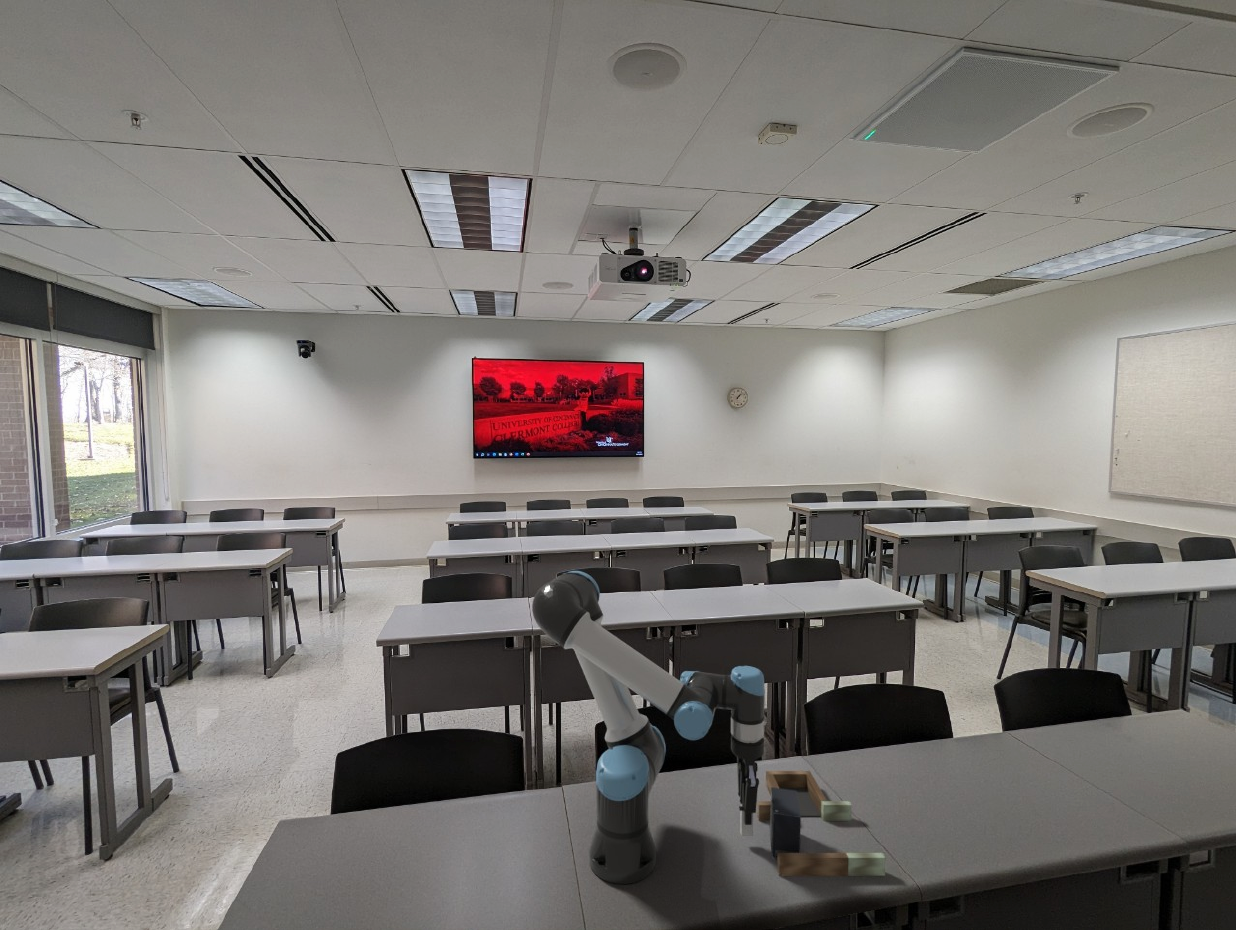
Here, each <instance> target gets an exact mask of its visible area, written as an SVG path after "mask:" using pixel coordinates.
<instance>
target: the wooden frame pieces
mask: <svg viewBox="0 0 1236 930" xmlns="http://www.w3.org/2000/svg"><path fill="white" fill-rule="evenodd" d="M818 784H819V783H818V782H817V780H816V779H815V777H814V775H813V774H812V772H811V771H810V770H766V771H765V787H766V788H767V789H766V790H767V791H768V794H769V796H770V797H771V787H773V788H779V787H806V788H807V790H808V792H809V794H810V796H811V798H812V800H813V801H814V803H815V805H816V807H817V809H818V811H819V812H820V814H821V819H822V821H823V822H824V821H827V822H828V821H831V822H832V821H836V822H837V821H839V822H840V821H844V822H845V821H846V822H847V821H849V822H850V821H852V812H853V811H852V808H853V807H852V806H853V805H852V804H851V803H852V802H850V801H847V800H846V801H845V800H843V801H842V800H841V801H840V800H839V801H838V800H837V801H836V800H835V801H834V800H832V801H831V800H827V798H826V797H825V795H824V793H823V792H822V791H823V790H821V788H820V786H819V785H818ZM756 816H757V820H758V821H759V822H764V821H765V822H766V821H767V822H770V816H771V800H770V801H767V800H766V801H762V800H761V801H760V800H759V801H758V800H757V815H756ZM776 868H777V873H778V876H779V877H780V876H782V877H783V876H785V877H787V876H788V877H791V876H793V877H794V876H796V877H798V876H799V877H800V876H801V877H802V876H803V877H804V876H805V877H807V876H810V877H811V876H813V877H814V876H815V877H817V876H818V877H819V876H821V877H827V876H831V877H832V876H834V877H836V876H837V877H838V876H839V877H846V876H853V877H854V876H859V877H860V876H861V877H862V876H864V877H865V876H867V877H868V876H869V877H870V876H873V877H874V876H879V877H880V876H886V857H885V854H884V853H883V852H800V853H778V858H777V867H776Z"/></svg>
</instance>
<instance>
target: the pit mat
mask: <svg viewBox="0 0 1236 930" xmlns="http://www.w3.org/2000/svg"><path fill="white" fill-rule="evenodd" d="M779 788H780V789H787V790H794V791H797V797H798V803H799V810H800V816H801V818H806V817H807V818H809V817H811V818H812V817H813V818H820V817H821V814H820V812H819V811H818V809H817V807H816V805H815V803H814V801H813V800H812V798H811V796H810V794H809V792H808V790H807V788H806V787H779ZM821 818H822V817H821Z"/></svg>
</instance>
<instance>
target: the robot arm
mask: <svg viewBox="0 0 1236 930" xmlns="http://www.w3.org/2000/svg"><path fill="white" fill-rule="evenodd" d="M596 581H597V580H595V578H593V577H592V576H591V575H589V574H588V573H586V572H584V571H580V570H572V571H568V572H565V573H561V575H559V576H557V577H555V578H554V579H552V580H550V581H549V582H547V583H545V584H544V585H542V586H540V588H539V589H538V590H537V592H536V593H535V594H534V597H533V599H532V605H531V606H532V607H531V609H532V610H531V611H532V614H533V619H534V621H535V623H536V624H537V626H538V627H539V628H540V630H541V631H542V632H543V633H544V634H545V636H547V637H548V638H549V639H550V640H552V641H553V642H554V643H556V644H557V645H559V646H560V647H562V649H564V650H568V649H569V650H570V649H573V651H574V653H575V655H576V658H577V660H578V663H579V665H580V667H581V669H582V673H583V676H585V679H586V682H587V684H588V686H589V689H590V690H591V693H592V696H593V698H594V700H595V702H596V705H597V708H598V710H599V712H600V714H601V717H602V719H603V721H604V724H605V726H606V732H605V735H604V740H605V742H606V745H607V747H608V749H607V750H605V751H604V752H603V753H602V754H601V755H600V757H599V759H598V761H597V765H596V766H597V767H596V772H595V782H596V826H595V830H594V833H593V836H592V839H591V841H590V845H589V848H588V863H589V867H590V869H591V871H593V873H594V874H595V875H596V876H597V877H599V878H600V879H602V880H604V881H605V882H609V883H612V884H617V885H618V884H619V885H626V884H627V885H628V884H634V883H638V882H640V881H642V880H645V879H646V878H647V877H649V876H650V875H651V873H652V872H653V871H654V869H655V867H656V865H657V849H656V845H655V842H654V839H653V836H652V832H651V829H650V827H649V798H650V794H651V791H652V789H653V786H654V784H655V782H656V780H657V778H658V775H659V773H660V771H661V770H662V768H663V766H664V762H665V756H666V752H667V750H666V747H667V746H666V743H665V738H664V736H663V734H662V732H661V731H660V730H659V728H657V726H654V725H652V723H650V720H649V718H648V717H647V715H644V714H642V713H640V712H639V710H638V708H637V706H636V702H635V701H634V699H633V697H632V694H631V691H633V692H634V693H635V694H637V695H638V696H640V697H641V698H642V699H644V700H645V701H647V702H648V703H650V705H652V706H654V707H655V708H656V709H658V710H659V711H661V712H663V713H664V714H665V715H666V716H668V717H669V718H671V719H672V720H673V723H674V727H675V730H676V732H677V733H678V734H679V736H681V737H682V738H684V739H686V740H689V741H697V740H700V739H703V738H704V737H705V736H706V735H707V734H708V732H709V730H710V728H711V727H712V725H713V721H714V716H715V712H716V710H717V709H720V710H731V711H730V713H731V714H730V734H731V735H730V750H731V752H732V753H733V755H734V756H735V757H736V762H737V764H736V765H737V766H736V767H737V788H738V789H737V790H738V792H737V795H738V797H739V803H740V805H739V806H738V809H739V811H740V813H739V814H740V817H739V818H740V819H739V824H740V825H739V833H740V835H741V837H754V814H756V813H757V804H758V789H759V785H760V780H759V778H758V777H757V772H758V769H759V768H758V767H759V766H758V763H757V762H756V761H757V759H760V758H761V757H762V756H763V755H764V753H765V738H764V736H765V727H766V726H767V721H765V700H766V697H765V696H766V695H765V694H766V689H765V676H764V673H763V672H762V671H761V669H759V668H757V667H754V666H749V665H738V666H735V667H734V668H732V669H731V673H730V674H727V675H726V674H718V673H711V672H702V671H700V670H695V671H694V670H693V671H692V670H690V671H688V670H685V671H683V672H682V673H681V675H680V677H679V678H680V679H677V678H676V677H675V676H673V675H672V674H671V673H669V672H668V671H666V670H664V669H663V668H662V667H660V666H659V665H657V664H656V663H655V662H653V661H652V660H650V659H649V658H647V657H646V656H644V655H643V654H642V653H640V652H639V651H637V650H636V649H634V648H633V647H631V646H630V645H629V644H627V643H625V642H624V641H623V640H621V639H620V638H619V637H617V636H616V635H614V634H613V633H611V632H610V631H608V630H606V628H604V627H603V626H602V621H603V618H604V614H603V612H602V608H601V606H600V604H599V601H600V596H601V595H600V593H601V592H600V588H599V585H598V583H597V582H596ZM630 690H631V691H630Z"/></svg>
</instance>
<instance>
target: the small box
mask: <svg viewBox="0 0 1236 930" xmlns="http://www.w3.org/2000/svg"><path fill="white" fill-rule="evenodd" d="M770 801H771V816H770V821H769V834H770V835H769V836H770V837H769V839H770V851H771V852H770V853H771V857H772V858H777V859H778V853H801V828H802V827H801V826H802V825H801V824H802V823H801V821H802V820H801V818H802V817H801V816H800V810H799V803H798V797H797V791H794V790H787V789H780V788H773V787H771V796H770Z"/></svg>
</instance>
